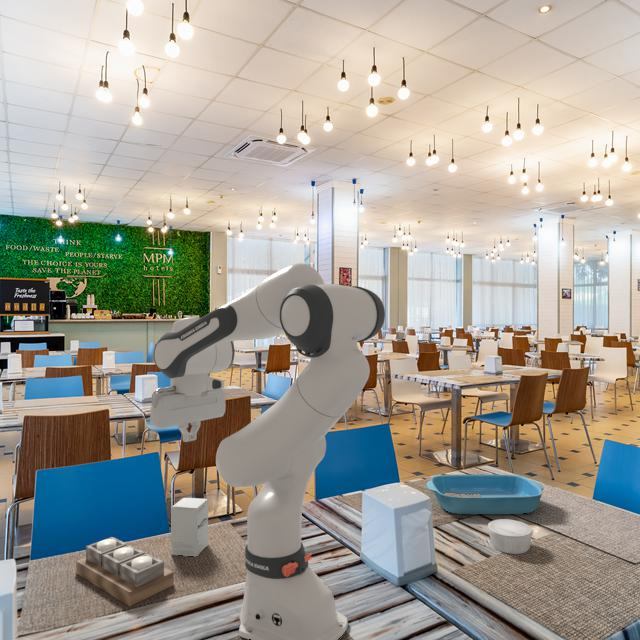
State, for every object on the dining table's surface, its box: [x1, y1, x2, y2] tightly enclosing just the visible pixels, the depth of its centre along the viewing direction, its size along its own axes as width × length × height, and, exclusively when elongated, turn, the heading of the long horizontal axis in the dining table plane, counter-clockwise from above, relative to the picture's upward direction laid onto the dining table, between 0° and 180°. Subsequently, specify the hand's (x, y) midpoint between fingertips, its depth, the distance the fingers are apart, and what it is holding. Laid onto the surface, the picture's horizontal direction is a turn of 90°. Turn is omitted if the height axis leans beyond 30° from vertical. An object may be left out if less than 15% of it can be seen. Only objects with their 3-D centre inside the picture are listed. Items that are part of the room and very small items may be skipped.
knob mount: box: [75, 536, 175, 607], centre depth 120 cm, size 23×11×6 cm, turn 52°
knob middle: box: [113, 547, 134, 561], centre depth 120 cm, size 4×4×3 cm
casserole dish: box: [425, 474, 544, 515], centre depth 166 cm, size 37×22×7 cm, turn 89°
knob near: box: [132, 556, 152, 571], centre depth 115 cm, size 4×4×3 cm
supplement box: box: [170, 497, 209, 558], centre depth 135 cm, size 7×7×13 cm
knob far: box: [97, 538, 116, 552], centre depth 124 cm, size 4×4×3 cm
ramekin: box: [487, 518, 534, 555], centre depth 136 cm, size 11×11×5 cm
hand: (189, 440), depth 125 cm, fingers closed
